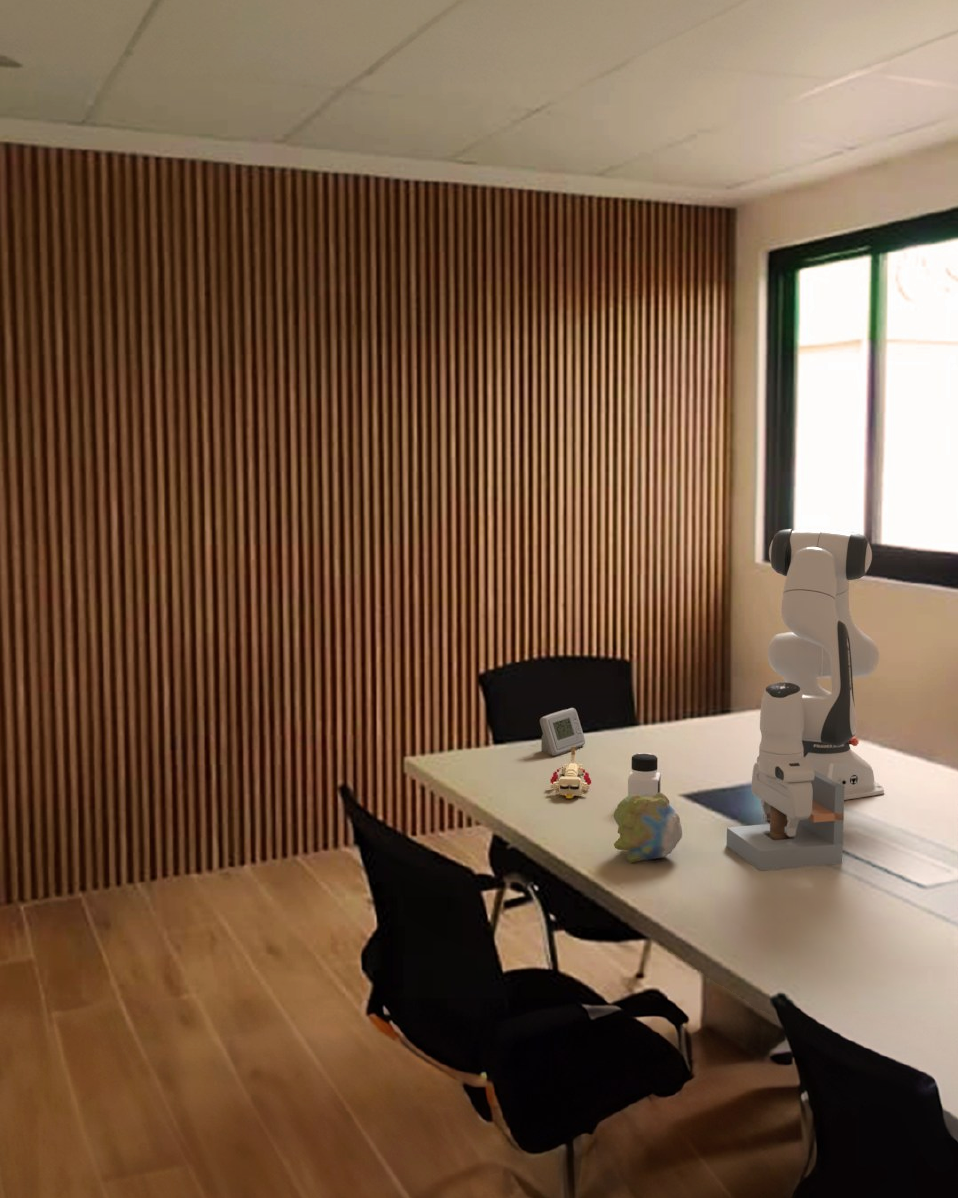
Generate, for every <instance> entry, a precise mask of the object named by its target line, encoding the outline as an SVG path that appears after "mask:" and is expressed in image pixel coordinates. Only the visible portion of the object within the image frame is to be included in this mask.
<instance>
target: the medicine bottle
mask: <svg viewBox="0 0 958 1198" xmlns="http://www.w3.org/2000/svg"><path fill="white" fill-rule="evenodd" d="M630 768H631V771H630V772H629V775H628V779H627V796H629V795H633V794H637V793H641V794H653V795H655V794H657V793H661V778H662V777H661V776H662V775H661V772H659V771H658V757H657V755H655V754H653V753H649V752H641V753H640V752H639V753H636V754H633V755H632V756H631V767H630Z"/></svg>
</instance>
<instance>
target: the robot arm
mask: <svg viewBox="0 0 958 1198" xmlns="http://www.w3.org/2000/svg"><path fill="white" fill-rule="evenodd" d="M768 555H769V560H770V561H769V562H770V566H771V568H772V569H773V570H774V571H775V572H776V573H777V574H779V575H782V576H784V577H785V581H784V586H783V592H782V598H781V599H782V600H781V618H782V621H783V623H784V625H785V627H786V628H788V630H789V631H788V632H787V631H786V632H781V633H777V634H775V635H774V636H773V637H772V638H771V640H770V642H769V643H768V646H767V650H766V656H767V661H768V665H769V666H770V667H771V669H772V671H773V672H775V673H776V674H778V675H779V676H780V677H781V678H782V680H784V682H783V681H781V682H775V683H771V684H768V685H767V686H766V687H765V688H764V691H763V693H762V698H761V705H760V714H759V730H760V734H761V737H760V743H759V748H758V756H757V758H756V762H755V763H754V765H753V769H752V774H751V786H750V787H751V793H752V795H753V796H755V797H757V798H758V799H760V804H761V808H762V812H763V821H764V822H765V823H767V824H770V806H772V807H774V808H776V809H777V810H779V811H781V812H782V813H784V814H785V815H787V820H788V823H787V826H785V834H786V835H787V836H789V837H790V836H795V835H796V827H797V825H798V823H799V820H803V819H808V818H809V817H810V815H811V812H812V798H813V789H812V784H811V782H810V781H812V780H814V771H816V772H818V773H820V774H822V775H824V776H826V777H828V778H830V779H832V780H834V781H836V782H841V783H842V785H843V786H845V789H844V801H845V800H846V801H847V800H851V799H853V800H854V799H859V798H864V797H871V796H872V797H873V796H877V795H878V796H879V795H883V794H884V793H885V790H884V787H883V786H882V785H881V784H880V783H877V782H876V781H875V775H874V770H873V768H872V766H871V765H870V764H869V763H868V762H867V761H866V760H865V759H863V758H862V757H861V756H859V754H857V752H855V751H854V750H852V749H851V746H850V745H852V746H853V747H857V746H858V744H860V740H859V738H858V737H855V735H856V731H857V727H858V717H857V710H856V706H855V699H854V698H855V697H854V684H853V683H854V681H853V679H858V678H865V677H869V676H870V675H872V674H873V673H874V671H875V670H876V669H877V667H878V664H879V660H880V652H879V649H878V646H877V644H876V642H875V641H874V639H872V637H870V636H869V635H868V634H866V633H865V632H863V631H862V630H861V629H860V628H859V627H858V626H857V625H856V623H855V622H854V620H853V618H852V616H851V611H850V602H849V601H850V599H849V597H850V596H849V595H850V594H849V590H850V589H849V588H850V587H849V586H850V581H853V580H854V581H855V580H860V579H861V578H863V577H864V576H865V575H867V572H868V570H869V568H870V566H871V563H872V561H873V560H872V559H873V552H872V548H871V545H870V541H869V539H868V538H867V537H866V536H865V535H864V534H860V533H858V532H857V533H856V532H854V531H853V532H850V533H849V532H845V531H840V530H832V529H824V528H822V529H793V528H788V529H787V528H785V529H781V530H779V531H777V532H776V533H775V534H774V536H773V539H772V540H771V543H770V546H769V550H768ZM822 678H825V679H831V682H830V683H831V691H829V690H827V689H825V688H823V687H822V686H821V685H820V683H819V679H822Z"/></svg>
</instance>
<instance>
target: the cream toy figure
mask: <svg viewBox="0 0 958 1198" xmlns="http://www.w3.org/2000/svg"><path fill="white" fill-rule="evenodd" d="M570 752H571V754H570V757H571V758H570V763H569V764H568V763H564V766H561V767H559V768H556V771H554V772H552V776H551V778H550V782H549V783H550V789H552V791H553V790H556V789H558V791H556V794H557V795H559V796H565V799H573V798H574V796H578V797H579V796H580V795H583V794H584V791H588V790H590V785H592V779H591V777H590V773H588V772H587V771H586V769H585V768H583V764H582V763H579V764H577V763H576V749H575V746H571V751H570ZM560 770H561V774H563V775H564V776H560V777H559V775H558V773H559V772H560ZM582 775H583V780H584V781H583V782H582V781H581V780H582V779H581V777H580V776H582ZM583 790H584V791H583Z"/></svg>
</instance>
